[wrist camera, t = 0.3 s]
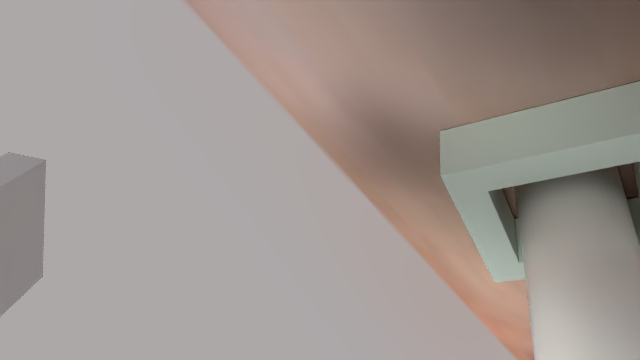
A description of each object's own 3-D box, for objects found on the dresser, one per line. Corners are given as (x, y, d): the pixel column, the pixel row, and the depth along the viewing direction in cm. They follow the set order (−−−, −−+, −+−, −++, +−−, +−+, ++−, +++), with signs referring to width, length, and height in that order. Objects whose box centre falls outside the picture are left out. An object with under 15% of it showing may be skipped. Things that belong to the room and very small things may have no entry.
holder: (440, 131, 29) (440, 176, 27) (666, 74, 25) (686, 123, 23) (491, 240, 35) (494, 283, 33) (677, 210, 31) (693, 256, 29)
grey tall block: (537, 129, 28) (597, 493, 18) (636, 148, 28) (753, 521, 18) (498, 192, 32) (529, 521, 22) (586, 208, 32) (658, 543, 22)
